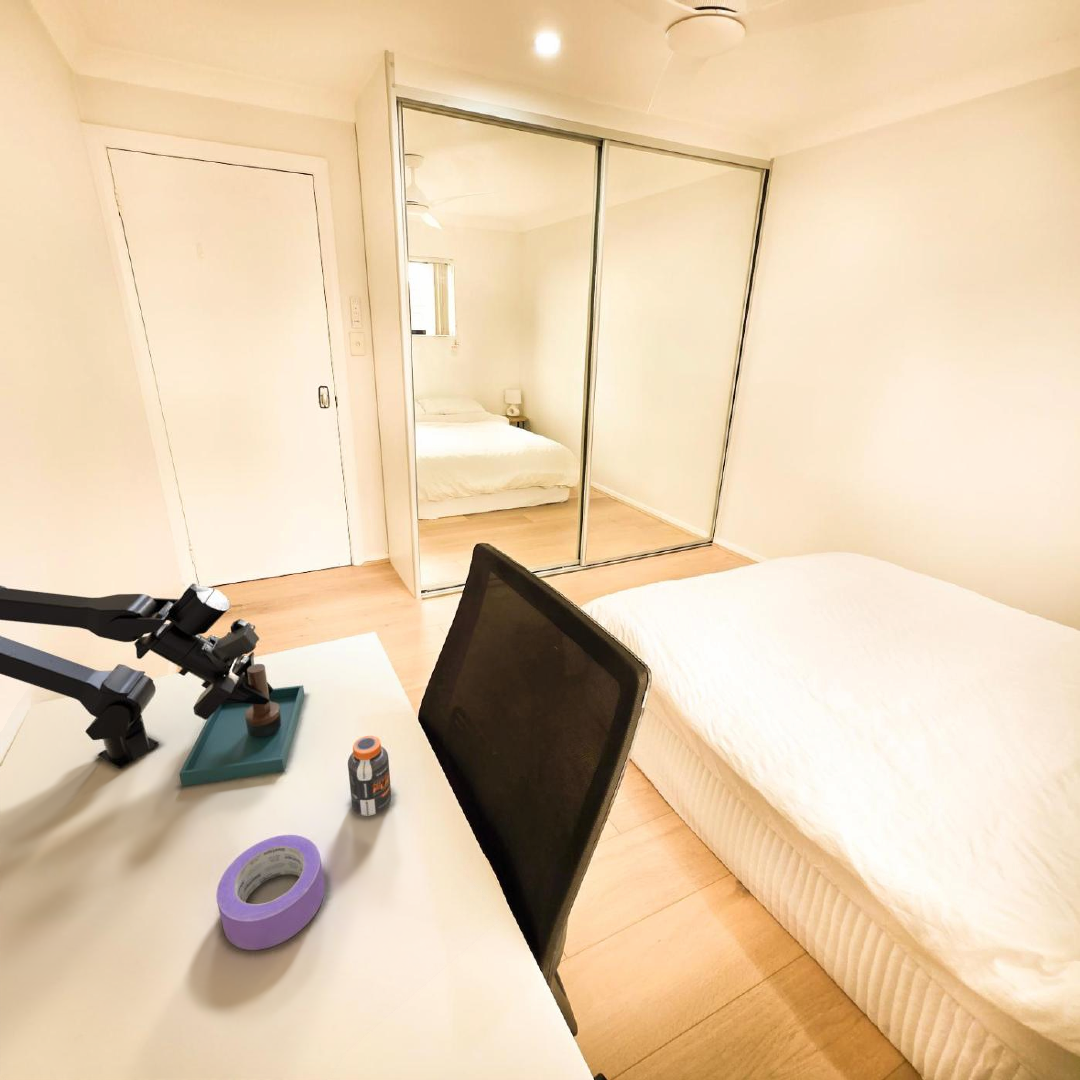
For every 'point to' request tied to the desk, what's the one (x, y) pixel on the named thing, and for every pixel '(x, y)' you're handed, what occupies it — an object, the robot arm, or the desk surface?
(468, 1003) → the desk surface
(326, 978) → the desk surface
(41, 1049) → the desk surface
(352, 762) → the pill bottle
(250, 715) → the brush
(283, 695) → the tray
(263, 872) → the tape roll
